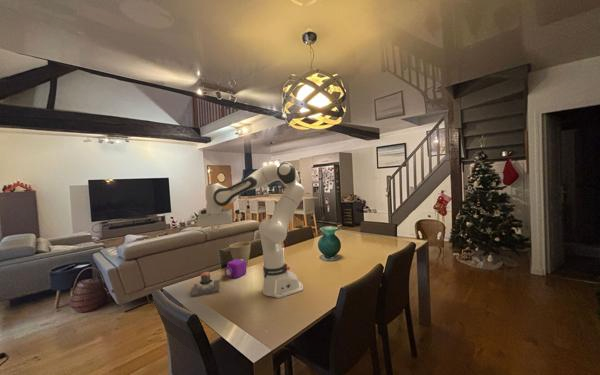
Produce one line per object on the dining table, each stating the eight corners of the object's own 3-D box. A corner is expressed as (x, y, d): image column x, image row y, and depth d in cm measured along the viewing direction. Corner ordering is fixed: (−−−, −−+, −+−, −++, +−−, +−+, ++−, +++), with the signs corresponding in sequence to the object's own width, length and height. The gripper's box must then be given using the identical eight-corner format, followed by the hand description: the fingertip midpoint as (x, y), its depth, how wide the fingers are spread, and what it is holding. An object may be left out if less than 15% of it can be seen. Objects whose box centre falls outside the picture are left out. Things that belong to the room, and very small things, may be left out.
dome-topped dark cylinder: (211, 284, 144) (210, 271, 143) (210, 287, 139) (209, 274, 139) (202, 285, 143) (201, 272, 142) (201, 289, 138) (200, 275, 138)
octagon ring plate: (219, 282, 150) (218, 275, 150) (218, 292, 136) (218, 284, 136) (194, 286, 146) (194, 279, 145) (191, 297, 132) (191, 289, 132)
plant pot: (248, 261, 186) (246, 240, 186) (255, 266, 174) (253, 244, 173) (228, 265, 179) (227, 244, 178) (234, 271, 166) (232, 248, 165)
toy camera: (221, 279, 154) (220, 264, 154) (234, 271, 167) (233, 257, 166) (236, 281, 150) (235, 265, 150) (248, 272, 163) (247, 258, 163)
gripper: (231, 207, 154) (233, 229, 155) (197, 210, 148) (198, 233, 149) (232, 208, 148) (233, 231, 149) (195, 211, 142) (197, 235, 143)
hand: (215, 232), depth 149 cm, fingers closed
